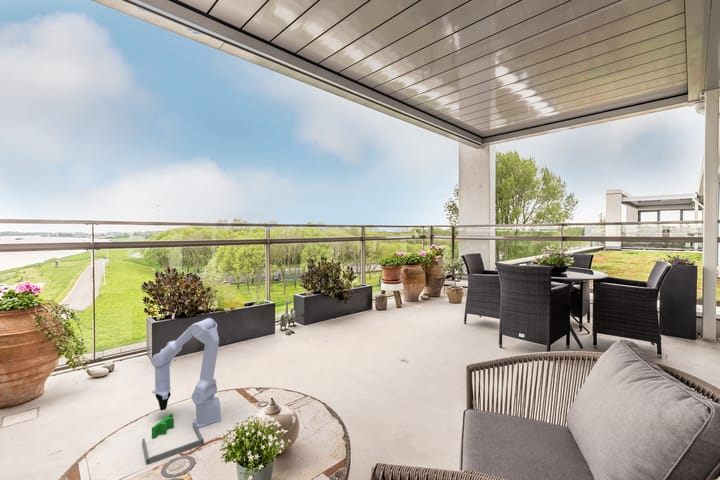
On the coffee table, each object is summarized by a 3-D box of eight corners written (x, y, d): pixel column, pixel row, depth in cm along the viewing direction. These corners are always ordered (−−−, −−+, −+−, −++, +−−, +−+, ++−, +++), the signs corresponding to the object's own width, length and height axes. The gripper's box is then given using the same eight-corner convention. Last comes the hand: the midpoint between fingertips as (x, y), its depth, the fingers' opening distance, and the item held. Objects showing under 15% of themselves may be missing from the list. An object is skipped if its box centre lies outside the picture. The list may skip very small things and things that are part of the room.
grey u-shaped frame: (194, 426, 144) (194, 422, 144) (203, 444, 131) (203, 439, 131) (142, 443, 132) (142, 439, 132) (146, 464, 120) (146, 459, 120)
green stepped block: (160, 439, 135) (160, 428, 135) (151, 439, 136) (151, 427, 136) (178, 423, 146) (178, 413, 146) (170, 423, 147) (170, 413, 147)
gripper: (150, 376, 154) (150, 406, 154) (154, 387, 143) (154, 419, 143) (167, 372, 159) (168, 401, 159) (173, 382, 147) (173, 413, 147)
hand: (163, 409), depth 151 cm, fingers closed
